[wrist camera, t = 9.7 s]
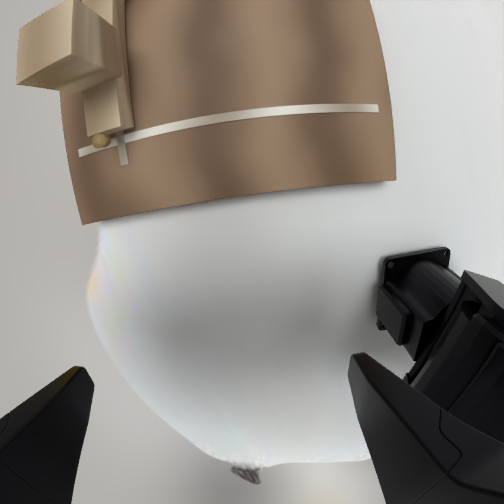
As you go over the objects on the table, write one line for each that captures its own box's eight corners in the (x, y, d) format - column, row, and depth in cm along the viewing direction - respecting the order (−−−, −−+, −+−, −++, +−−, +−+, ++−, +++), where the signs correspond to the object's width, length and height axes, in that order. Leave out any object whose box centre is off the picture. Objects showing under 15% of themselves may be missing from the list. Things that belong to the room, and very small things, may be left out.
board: (353, -7, 12) (364, -19, 10) (382, 175, 18) (397, 180, 16) (73, 37, 12) (58, 30, 11) (95, 216, 18) (81, 225, 16)
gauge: (140, -26, 11) (93, -92, 3) (154, 139, 16) (80, 143, 8) (102, -12, 11) (41, -64, 3) (112, 150, 16) (22, 167, 8)
